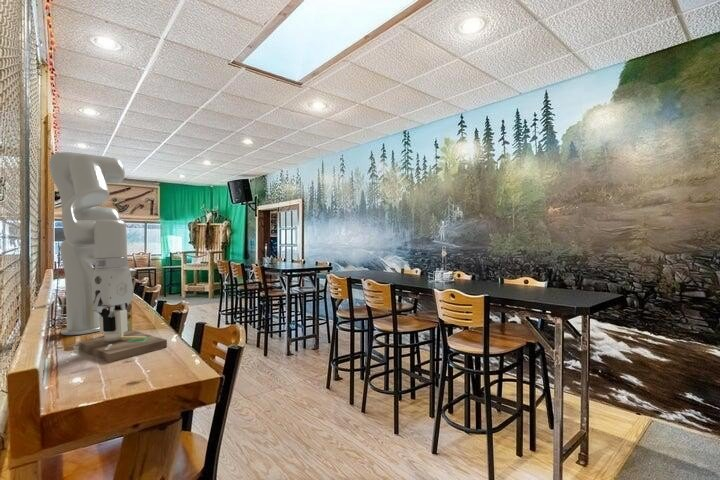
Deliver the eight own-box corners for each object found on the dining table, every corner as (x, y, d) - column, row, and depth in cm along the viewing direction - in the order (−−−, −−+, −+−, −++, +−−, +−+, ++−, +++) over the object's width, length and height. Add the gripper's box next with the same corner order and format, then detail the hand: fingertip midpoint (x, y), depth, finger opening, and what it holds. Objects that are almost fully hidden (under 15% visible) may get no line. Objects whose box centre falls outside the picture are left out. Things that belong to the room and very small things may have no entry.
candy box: (134, 335, 114) (132, 287, 113) (117, 338, 111) (115, 288, 111) (130, 330, 121) (128, 284, 120) (114, 332, 118) (112, 286, 118)
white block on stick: (97, 341, 99) (96, 312, 99) (109, 337, 104) (108, 309, 103) (140, 341, 98) (139, 312, 98) (151, 337, 102) (150, 308, 102)
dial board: (79, 349, 100) (79, 341, 100) (134, 336, 112) (133, 329, 112) (109, 362, 89) (108, 353, 89) (166, 346, 100) (166, 339, 100)
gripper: (100, 266, 92) (103, 337, 93) (144, 261, 109) (146, 322, 109) (73, 266, 93) (76, 337, 93) (120, 262, 109) (123, 322, 109)
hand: (114, 329), depth 101 cm, fingers closed on white block on stick, 2 cm apart
